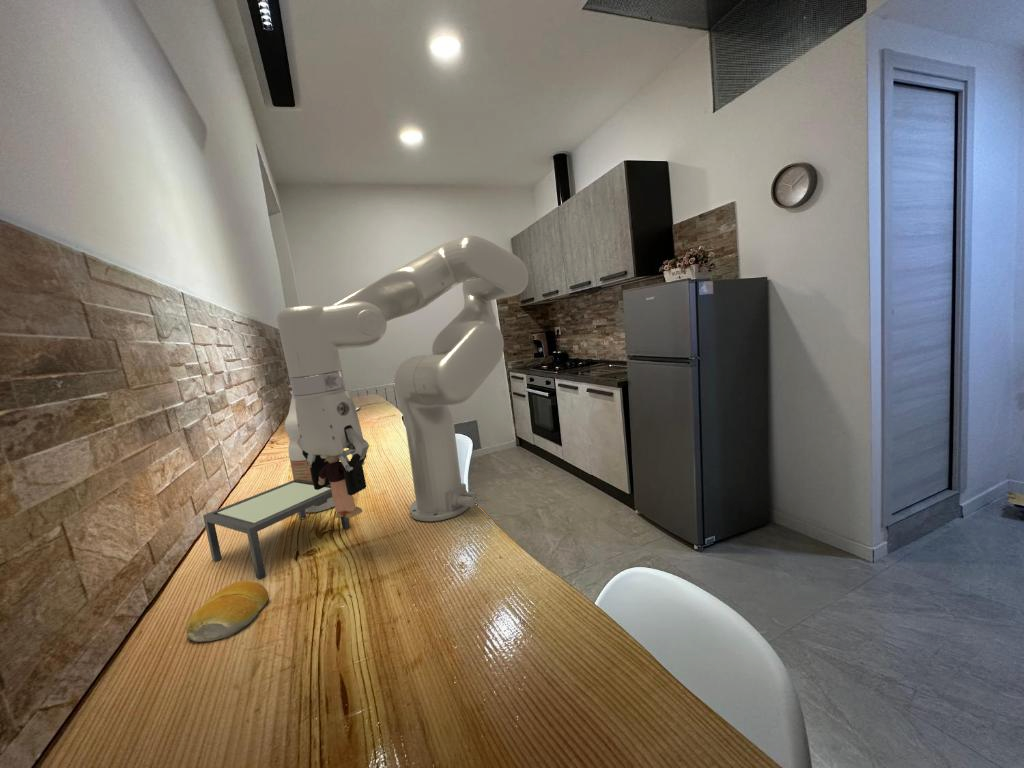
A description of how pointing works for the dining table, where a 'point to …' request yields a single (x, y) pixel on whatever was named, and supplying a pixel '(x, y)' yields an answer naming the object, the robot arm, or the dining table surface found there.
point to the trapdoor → (272, 503)
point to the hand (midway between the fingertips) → (340, 488)
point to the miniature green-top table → (259, 525)
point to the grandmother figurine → (338, 487)
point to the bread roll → (227, 611)
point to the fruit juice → (300, 455)
